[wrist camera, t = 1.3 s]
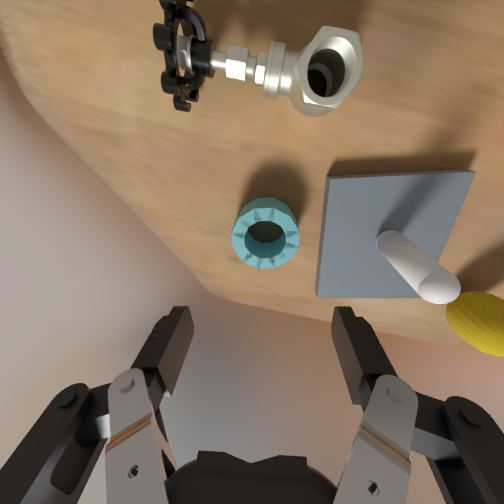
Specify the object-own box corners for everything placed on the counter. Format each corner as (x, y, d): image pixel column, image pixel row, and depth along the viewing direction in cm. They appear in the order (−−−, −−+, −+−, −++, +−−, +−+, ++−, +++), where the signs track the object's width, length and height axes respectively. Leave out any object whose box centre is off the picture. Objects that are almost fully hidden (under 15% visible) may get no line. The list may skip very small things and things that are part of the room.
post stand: (462, 168, 19) (631, 202, 10) (415, 289, 26) (491, 374, 17) (326, 176, 21) (371, 212, 12) (314, 290, 27) (337, 369, 18)
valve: (351, 40, 16) (192, 7, 16) (397, -11, 10) (147, -64, 10) (322, 139, 19) (190, 112, 19) (344, 142, 14) (155, 105, 13)
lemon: (430, 284, 26) (489, 340, 19) (485, 272, 24) (570, 328, 18) (430, 316, 28) (482, 376, 21) (480, 307, 27) (553, 368, 20)
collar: (296, 195, 22) (300, 206, 19) (294, 251, 25) (297, 268, 22) (233, 198, 22) (228, 209, 19) (239, 252, 26) (235, 268, 22)
